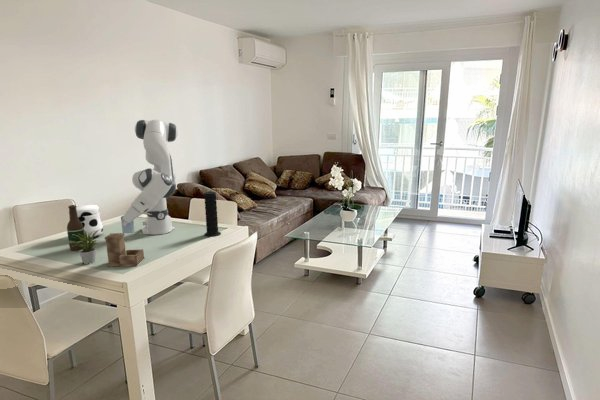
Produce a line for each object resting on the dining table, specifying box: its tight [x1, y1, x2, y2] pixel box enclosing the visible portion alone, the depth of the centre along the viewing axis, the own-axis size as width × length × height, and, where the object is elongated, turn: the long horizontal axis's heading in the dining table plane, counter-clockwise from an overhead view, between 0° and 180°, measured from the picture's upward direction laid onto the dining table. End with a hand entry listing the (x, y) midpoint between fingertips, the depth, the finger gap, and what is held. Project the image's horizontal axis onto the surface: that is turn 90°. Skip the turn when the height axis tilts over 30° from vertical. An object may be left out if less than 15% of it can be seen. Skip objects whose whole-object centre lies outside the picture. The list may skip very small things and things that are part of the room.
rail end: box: [120, 214, 136, 234], centre depth 182 cm, size 4×4×8 cm
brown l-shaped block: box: [104, 232, 145, 267], centre depth 184 cm, size 14×10×14 cm
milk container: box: [68, 204, 104, 240], centre depth 227 cm, size 17×17×18 cm
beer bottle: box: [66, 204, 84, 252], centre depth 205 cm, size 8×8×24 cm
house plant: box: [68, 229, 101, 265], centre depth 186 cm, size 14×14×16 cm
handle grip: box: [203, 190, 222, 238], centre depth 227 cm, size 10×26×10 cm
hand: (126, 223), depth 182 cm, fingers closed on rail end, 4 cm apart
